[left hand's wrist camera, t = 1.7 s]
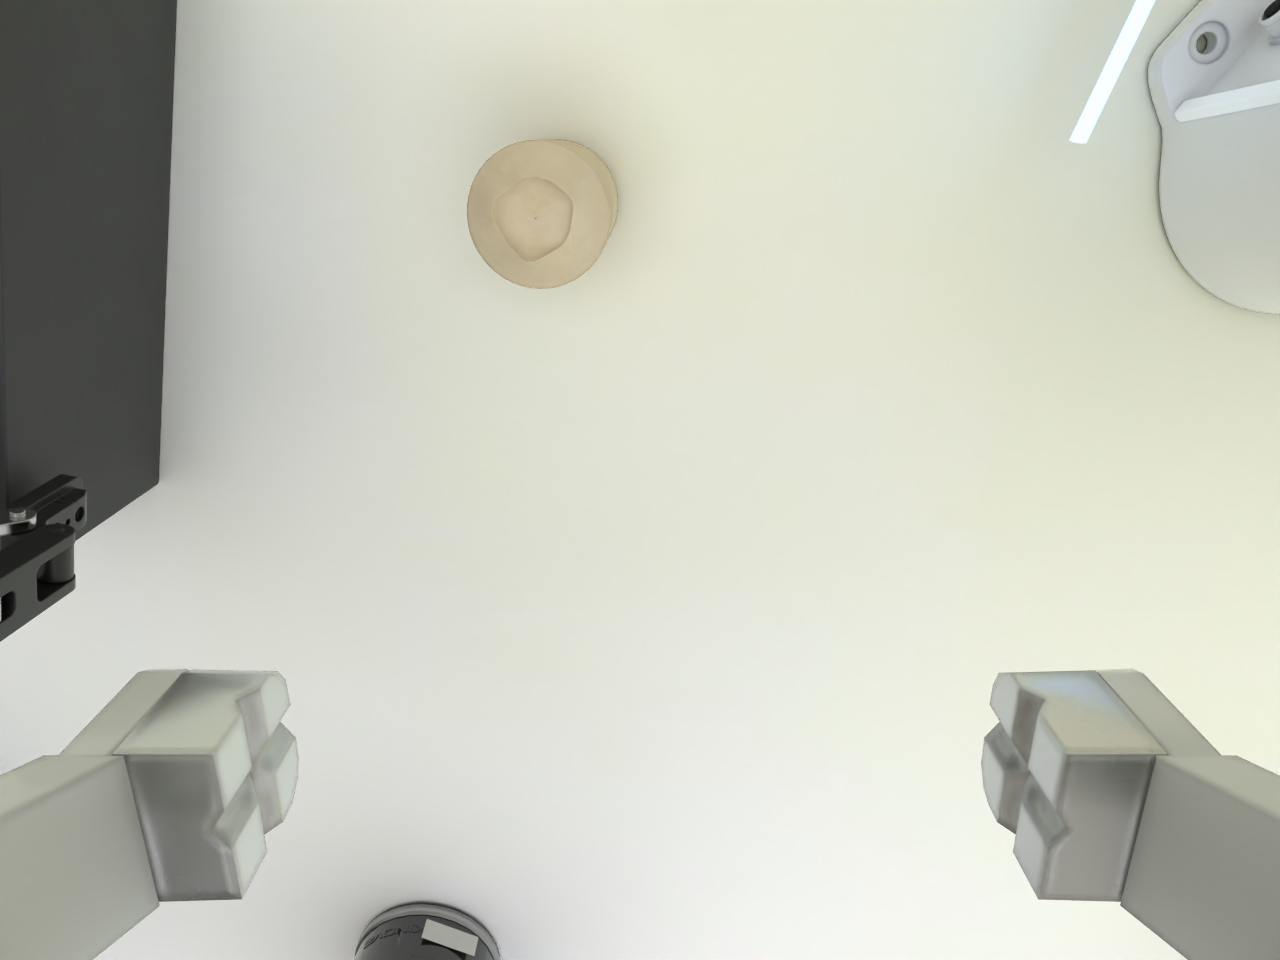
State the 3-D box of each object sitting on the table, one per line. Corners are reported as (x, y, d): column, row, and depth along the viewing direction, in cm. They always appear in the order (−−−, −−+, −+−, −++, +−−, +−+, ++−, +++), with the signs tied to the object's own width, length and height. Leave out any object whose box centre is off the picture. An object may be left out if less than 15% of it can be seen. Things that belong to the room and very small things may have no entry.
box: (45, -136, 38) (-205, -247, 27) (181, -102, 39) (-11, -198, 28) (50, 461, 48) (-133, 558, 37) (159, 483, 48) (10, 587, 37)
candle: (601, 275, 44) (585, 312, 35) (490, 242, 43) (445, 270, 34) (632, 159, 42) (625, 166, 33) (517, 124, 42) (477, 120, 32)
